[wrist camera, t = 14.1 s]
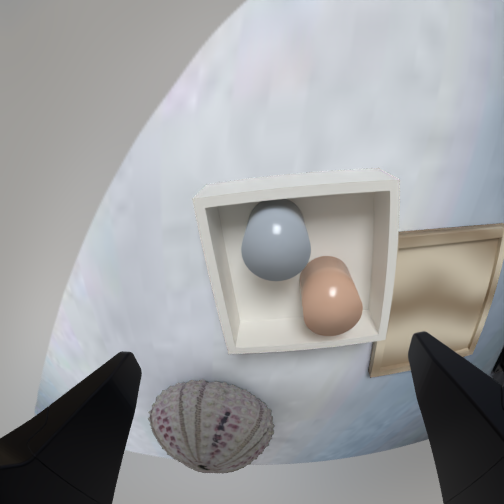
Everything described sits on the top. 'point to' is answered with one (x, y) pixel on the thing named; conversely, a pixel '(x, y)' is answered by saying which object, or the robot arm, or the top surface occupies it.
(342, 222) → the square storage bin
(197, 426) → the sea urchin shell
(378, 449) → the top surface
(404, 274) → the parts tray
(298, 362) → the top surface
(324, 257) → the peach rounded cylinder
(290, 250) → the slate pebble
